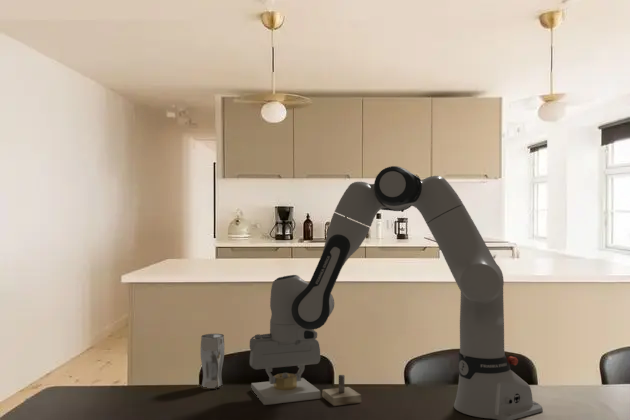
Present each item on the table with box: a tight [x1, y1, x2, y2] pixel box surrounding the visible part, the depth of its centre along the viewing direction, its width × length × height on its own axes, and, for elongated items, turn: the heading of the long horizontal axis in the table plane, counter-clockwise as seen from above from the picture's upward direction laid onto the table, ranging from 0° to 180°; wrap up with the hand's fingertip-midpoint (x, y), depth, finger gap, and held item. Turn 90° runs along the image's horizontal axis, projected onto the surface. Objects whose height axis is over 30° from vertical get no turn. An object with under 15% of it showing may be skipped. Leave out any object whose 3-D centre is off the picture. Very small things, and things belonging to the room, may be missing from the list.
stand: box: [321, 374, 362, 407], centre depth 142 cm, size 8×8×6 cm
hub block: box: [250, 372, 321, 406], centre depth 146 cm, size 16×14×6 cm
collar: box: [274, 372, 297, 390], centre depth 146 cm, size 6×6×3 cm
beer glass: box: [200, 333, 225, 388], centre depth 153 cm, size 7×7×15 cm
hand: (285, 382), depth 146 cm, fingers closed on collar, 6 cm apart
